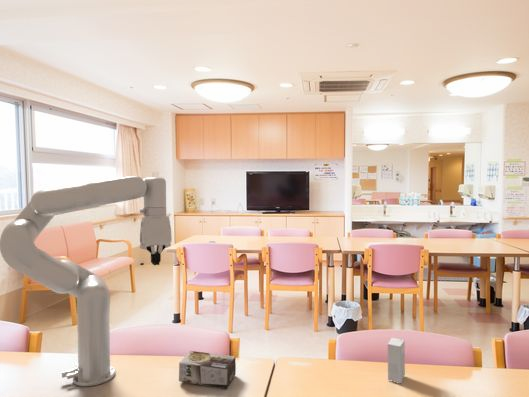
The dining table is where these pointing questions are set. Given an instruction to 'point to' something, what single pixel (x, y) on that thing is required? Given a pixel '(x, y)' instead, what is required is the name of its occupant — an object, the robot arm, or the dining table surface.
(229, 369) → the coffee box
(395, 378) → the skincare box
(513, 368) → the dining table surface
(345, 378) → the dining table surface
